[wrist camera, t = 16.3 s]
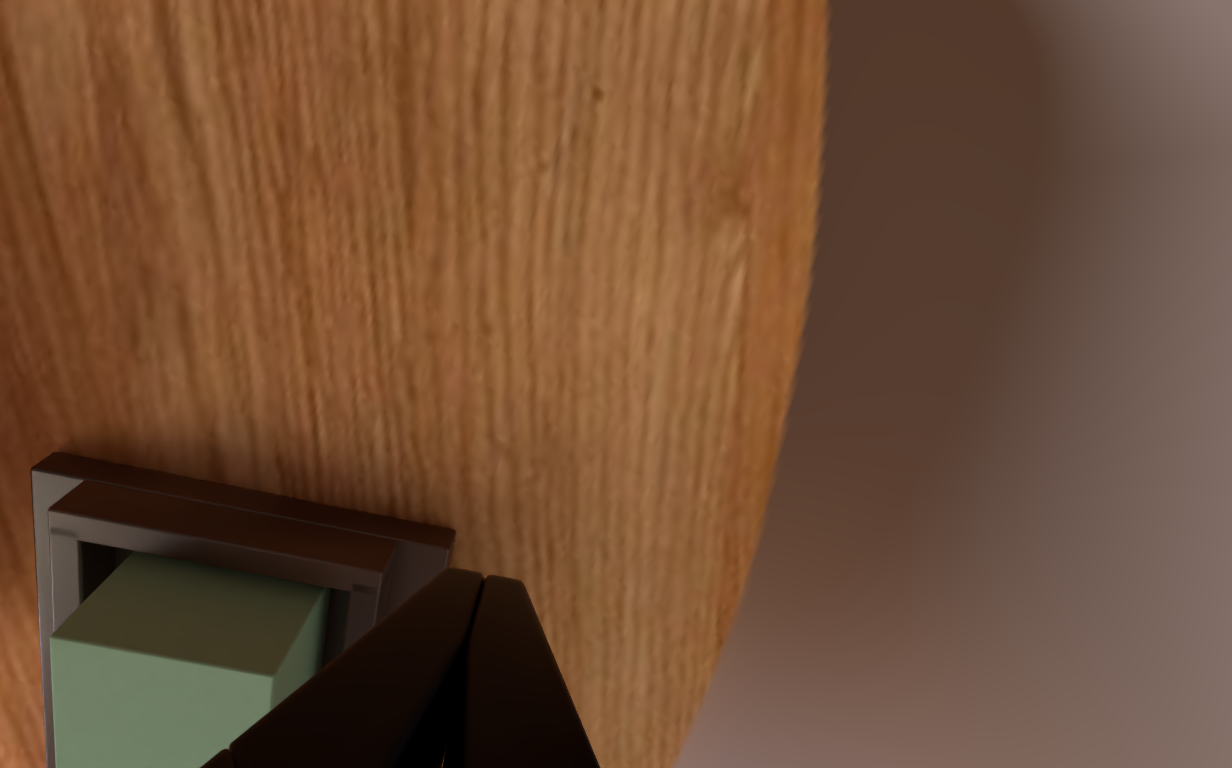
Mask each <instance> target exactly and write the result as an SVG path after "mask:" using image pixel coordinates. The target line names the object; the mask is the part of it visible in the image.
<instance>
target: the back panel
mask: <svg viewBox="0 0 1232 768" xmlns="http://www.w3.org/2000/svg"><path fill="white" fill-rule="evenodd" d="M30 471H31V489H32V507H33V525H34V543H35V562H36V580H37V598H38V616H39V634H40V652H41V671H42V689H43V707H44V725H45V743H46V762H47V768H56V761H55V740H54V720H53V699H52V679H51V658H50V636H51V634H52V633H53V632H54V631H55V630H56V629H57V628H58V627H59V626H60V625H61V624H62V623H63V622H64V621H65V620H66V619H67V618H68V617H69V616H70V615H71V614H72V613H73V612H74V611H75V610H76V609H77V608H78V607H79V606H80V605H81V604H82V603H83V602H84V601H85V600H86V599H87V598H88V597H89V596H90V595H91V594H92V593H93V592H94V591H95V590H96V589H97V588H98V587H99V586H100V585H101V584H102V583H103V582H104V581H105V580H106V579H107V578H108V577H109V576H110V575H111V574H112V573H113V572H114V571H115V570H116V569H117V568H118V567H119V566H120V565H121V564H122V563H123V562H124V561H125V560H126V559H127V558H128V557H129V556H130V555H131V554H132V553H133V552H134V551H137V552H142V553H147V554H153V555H158V556H163V557H169V558H174V559H179V560H185V561H190V562H195V563H200V564H206V565H211V566H216V567H222V568H227V569H232V570H238V571H243V572H248V573H254V574H259V575H264V576H270V577H275V578H280V579H285V580H291V581H296V582H301V583H307V584H312V585H317V586H323V587H328V588H331V593H330V602H329V611H328V620H327V629H326V637H325V646H324V655H323V664H322V668H324V667H325V666H326V665H327V664H329V663H330V662H331V661H332V660H334V659H335V658H336V657H337V656H338V655H340V654H341V653H342V652H343V651H345V650H346V649H347V648H348V647H350V646H351V645H352V644H353V643H354V642H356V641H357V640H358V639H359V638H361V637H362V636H363V635H364V634H366V633H367V632H368V631H369V630H370V629H372V628H373V627H374V626H375V625H377V624H378V623H379V622H380V621H382V620H383V619H384V618H385V617H386V616H388V615H389V614H390V613H391V612H393V611H394V610H395V609H396V608H398V607H399V606H400V605H401V604H402V603H404V602H405V601H406V600H407V599H409V598H410V597H411V596H412V595H414V594H415V593H416V592H417V591H418V590H420V589H421V588H422V587H423V586H425V585H426V584H427V583H428V582H429V581H431V580H432V579H433V578H434V577H436V576H437V575H438V574H439V573H441V572H442V571H443V570H444V569H446V568H448V567H450V565H451V559H452V553H453V548H454V542H455V537H456V531H455V530H451V529H446V528H441V527H436V526H431V525H426V524H421V523H416V522H411V521H406V520H400V519H395V518H390V517H385V516H380V515H375V514H370V513H365V512H360V511H355V510H350V509H344V508H339V507H334V506H329V505H324V504H319V503H314V502H309V501H304V500H299V499H293V498H288V497H283V496H278V495H273V494H268V493H263V492H258V491H253V490H248V489H243V488H237V487H232V486H227V485H222V484H217V483H212V482H207V481H202V480H197V479H192V478H186V477H181V476H176V475H171V474H166V473H161V472H156V471H151V470H146V469H141V468H136V467H130V466H125V465H120V464H115V463H110V462H105V461H100V460H95V459H90V458H85V457H79V456H74V455H69V454H64V453H59V452H53V453H52V454H50V455H49V456H47V457H46V458H44V459H43V460H42V461H40V462H39V463H37V464H36V465H34V466H33V467H32V468H31V470H30Z"/></svg>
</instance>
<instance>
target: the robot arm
mask: <svg viewBox="0 0 1232 768" xmlns="http://www.w3.org/2000/svg"><path fill="white" fill-rule="evenodd" d="M444 756H445V757H444ZM443 760H444V762H443ZM442 764H443V767H442ZM200 768H600V766H599V764H598V761H597V759H596V756H595V754H594V752H593V749H592V747H591V744H590V742H589V740H588V737H587V735H586V732H585V730H584V727H583V725H582V723H581V720H580V718H579V715H578V713H577V711H576V708H575V706H574V703H573V701H572V698H571V696H570V694H569V691H568V689H567V686H566V684H565V682H564V679H563V677H562V674H561V672H560V670H559V667H558V665H557V662H556V660H555V657H554V655H553V653H552V650H551V648H550V645H549V643H548V641H547V638H546V636H545V633H544V631H543V628H542V626H541V624H540V621H539V619H538V616H537V614H536V612H535V609H534V607H533V604H532V602H531V599H530V597H529V595H528V592H527V590H526V587H525V585H524V583H523V582H522V581H521V580H518V579H513V578H507V577H502V576H497V575H488V576H487V577H486V578H485V580H484V577H483V575H482V574H481V573H480V572H476V571H471V570H466V569H461V568H456V567H448V568H446V569H444V570H443V571H442V572H441V573H439V574H438V575H437V576H436V577H434V578H433V579H432V580H431V581H429V582H428V583H427V584H426V585H425V586H423V587H422V588H421V589H420V590H418V591H417V592H416V593H415V594H414V595H412V596H411V597H410V598H409V599H407V600H406V601H405V602H404V603H402V604H401V605H400V606H399V607H398V608H396V609H395V610H394V611H393V612H391V613H390V614H389V615H388V616H386V617H385V618H384V619H383V620H382V621H380V622H379V623H378V624H377V625H375V626H374V627H373V628H372V629H370V630H369V631H368V632H367V633H366V634H364V635H363V636H362V637H361V638H359V639H358V640H357V641H356V642H354V643H353V644H352V645H351V646H350V647H348V648H347V649H346V650H345V651H343V652H342V653H341V654H340V655H338V656H337V657H336V658H335V659H334V660H332V661H331V662H330V663H329V664H327V665H326V666H325V667H324V668H322V669H321V670H320V671H319V672H318V673H316V674H315V675H314V676H313V677H311V678H310V679H309V680H308V681H306V682H305V683H304V684H303V685H302V686H300V687H299V688H298V689H297V690H295V691H294V692H293V693H292V694H290V695H289V696H288V697H287V698H286V699H284V700H283V701H282V702H281V703H279V704H278V705H277V706H276V707H274V708H273V709H272V710H271V711H270V712H268V713H267V714H266V715H265V716H263V717H262V718H261V719H260V720H258V721H257V722H256V723H255V724H254V725H252V726H251V727H250V728H249V729H247V730H246V731H245V732H244V733H242V734H241V735H240V736H239V737H238V738H236V739H235V740H234V741H233V742H231V743H230V745H229V749H222V750H221V751H220V752H218V753H217V754H216V755H215V756H213V757H212V758H211V759H210V760H209V761H207V762H206V763H205V764H204V765H203V766H201V767H200Z"/></svg>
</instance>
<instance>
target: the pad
mask: <svg viewBox="0 0 1232 768" xmlns="http://www.w3.org/2000/svg"><path fill="white" fill-rule="evenodd" d="M330 593H331V588H328V587H323V586H317V585H312V584H307V583H301V582H296V581H291V580H285V579H280V578H275V577H270V576H264V575H259V574H254V573H248V572H243V571H238V570H232V569H227V568H222V567H216V566H211V565H206V564H200V563H195V562H190V561H185V560H179V559H174V558H169V557H163V556H158V555H153V554H147V553H142V552H137V551H134V552H133V553H132V554H131V555H130V556H129V557H128V558H127V559H126V560H125V561H124V562H123V563H122V564H121V565H120V566H119V567H118V568H117V569H116V570H115V571H114V572H113V573H112V574H111V575H110V576H109V577H108V578H107V579H106V580H105V581H104V582H103V583H102V584H101V585H100V586H99V587H98V588H97V589H96V590H95V591H94V592H93V593H92V594H91V595H90V596H89V597H88V598H87V599H86V600H85V601H84V602H83V603H82V604H81V605H80V606H79V607H78V608H77V609H76V610H75V611H74V612H73V613H72V614H71V615H70V616H69V617H68V618H67V619H66V620H65V621H64V622H63V623H62V624H61V625H60V626H59V627H58V628H57V629H56V630H55V631H54V632H53V633H52V634H51V636H50V658H51V679H52V699H53V720H54V740H55V761H56V768H200V767H201V766H203V765H204V764H205V763H206V762H207V761H209V760H210V759H211V758H212V757H213V756H215V755H216V754H217V753H218V752H220V751H221V750H222V749H229V745H230V743H231V742H233V741H234V740H235V739H236V738H238V737H239V736H240V735H241V734H242V733H244V732H245V731H246V730H247V729H249V728H250V727H251V726H252V725H254V724H255V723H256V722H257V721H258V720H260V719H261V718H262V717H263V716H265V715H266V714H267V713H268V712H270V711H271V710H272V709H273V708H274V707H276V706H277V705H278V704H279V703H281V702H282V701H283V700H284V699H286V698H287V697H288V696H289V695H290V694H292V693H293V692H294V691H295V690H297V689H298V688H299V687H300V686H302V685H303V684H304V683H305V682H306V681H308V680H309V679H310V678H311V677H313V676H314V675H315V674H316V673H318V672H319V671H320V670H321V669H322V664H323V655H324V646H325V637H326V629H327V620H328V611H329V602H330Z"/></svg>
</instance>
